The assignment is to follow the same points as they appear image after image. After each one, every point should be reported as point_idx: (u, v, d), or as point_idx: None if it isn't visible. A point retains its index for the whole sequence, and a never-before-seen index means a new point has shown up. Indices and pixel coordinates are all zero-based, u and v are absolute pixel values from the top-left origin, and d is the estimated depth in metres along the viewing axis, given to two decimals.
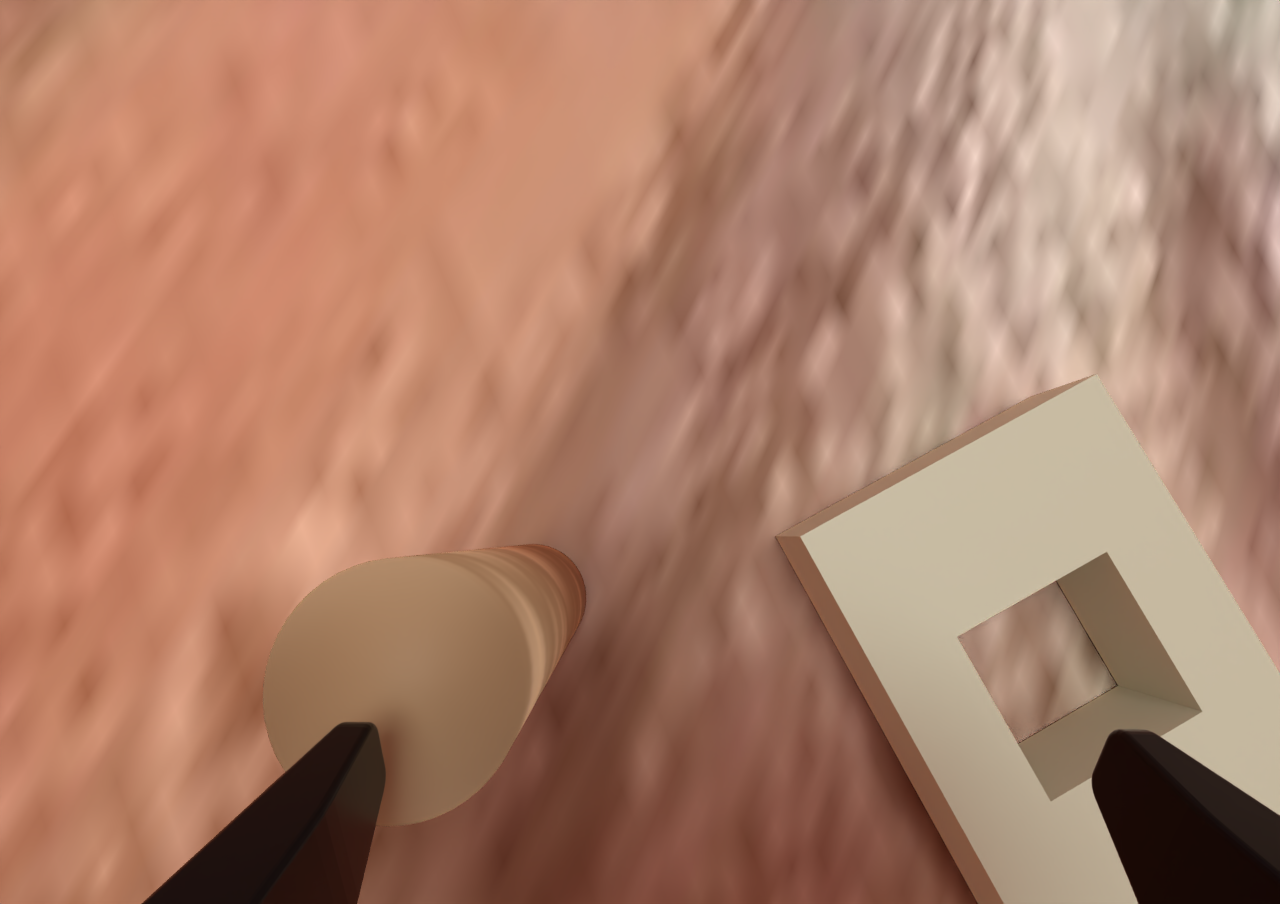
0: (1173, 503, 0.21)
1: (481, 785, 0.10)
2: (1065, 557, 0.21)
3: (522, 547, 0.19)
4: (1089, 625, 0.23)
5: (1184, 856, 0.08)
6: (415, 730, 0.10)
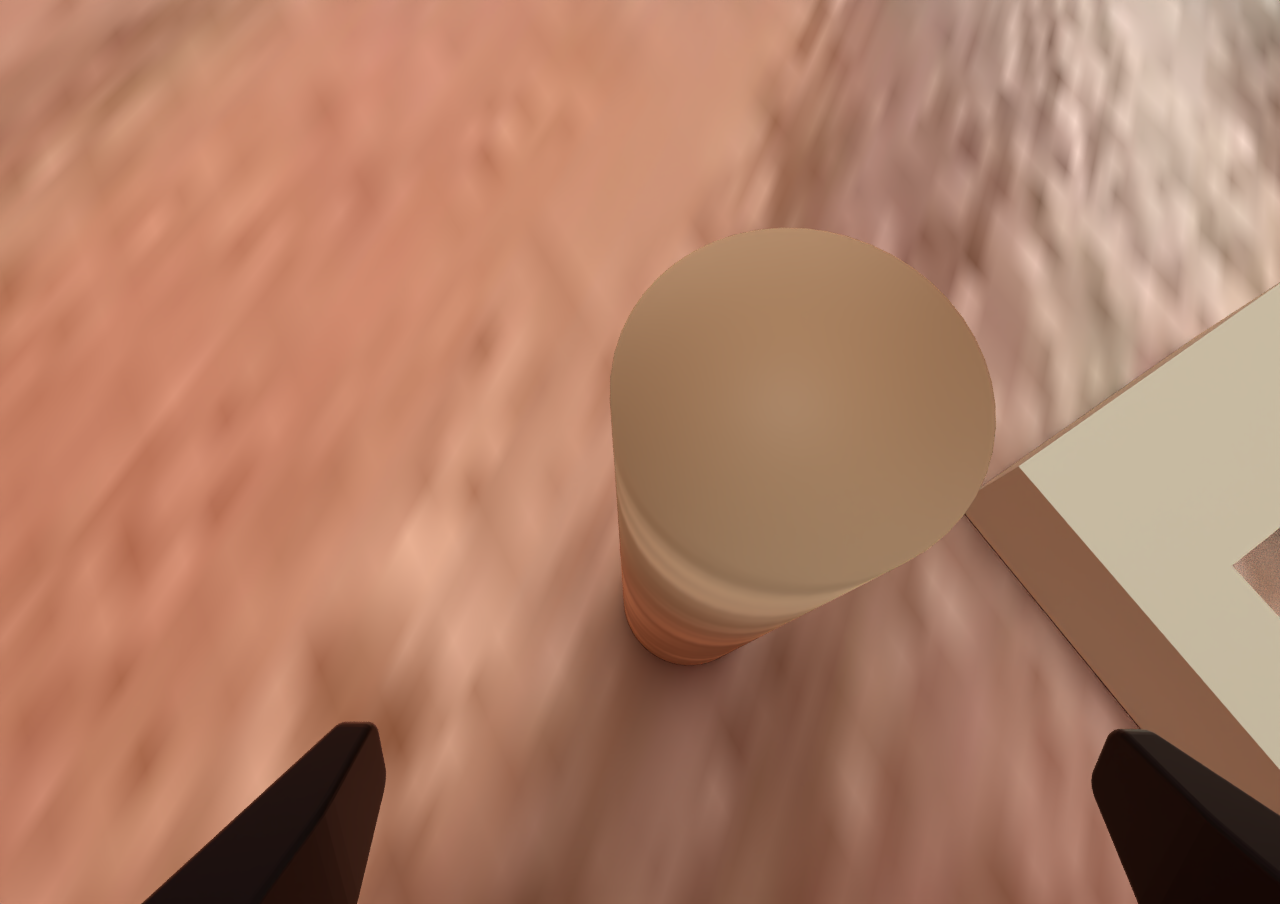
0: None
1: (962, 511, 0.06)
2: None
3: None
4: None
5: (1184, 856, 0.08)
6: (845, 441, 0.06)
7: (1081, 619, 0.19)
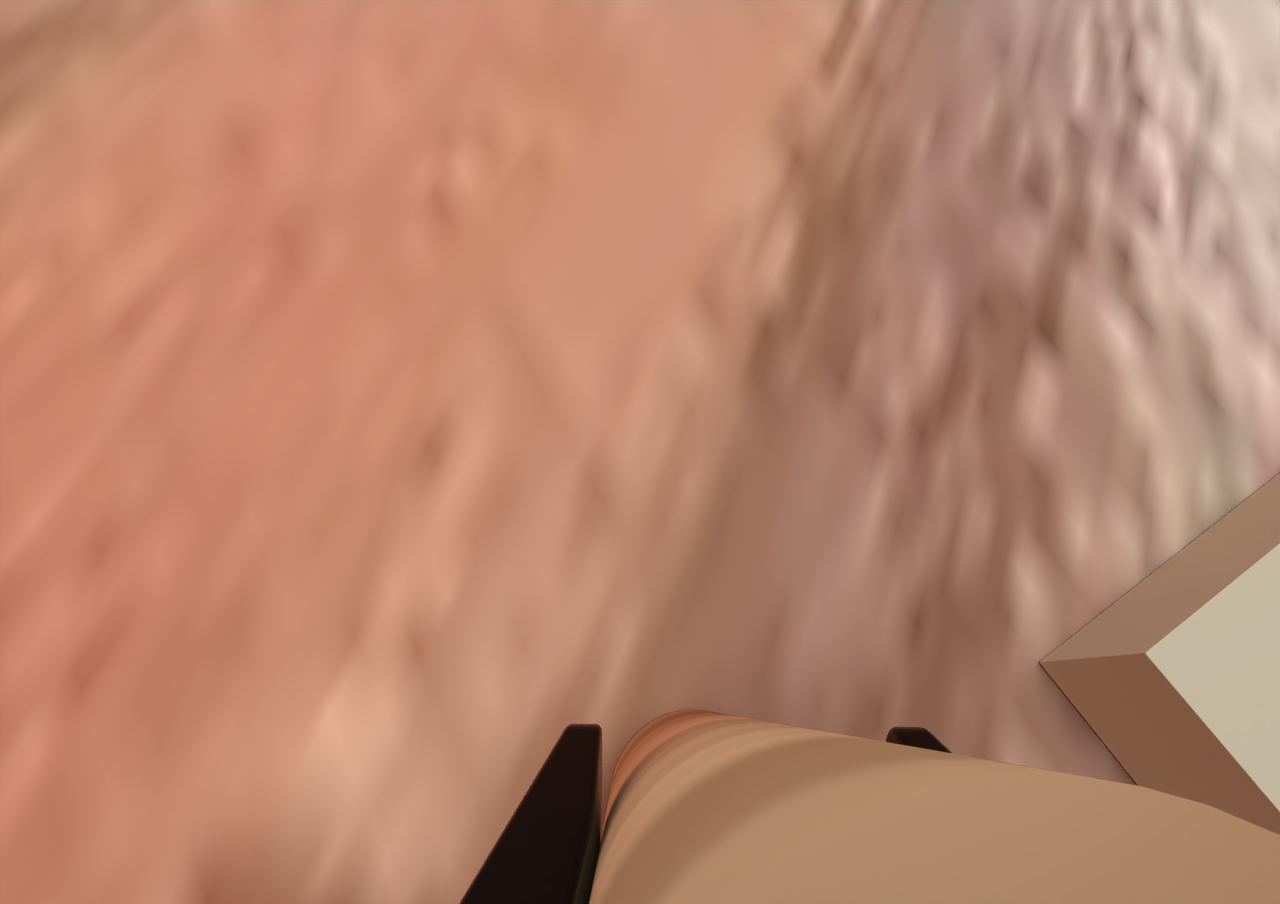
0: None
1: None
2: None
3: (725, 714, 0.11)
4: None
5: None
6: None
7: None
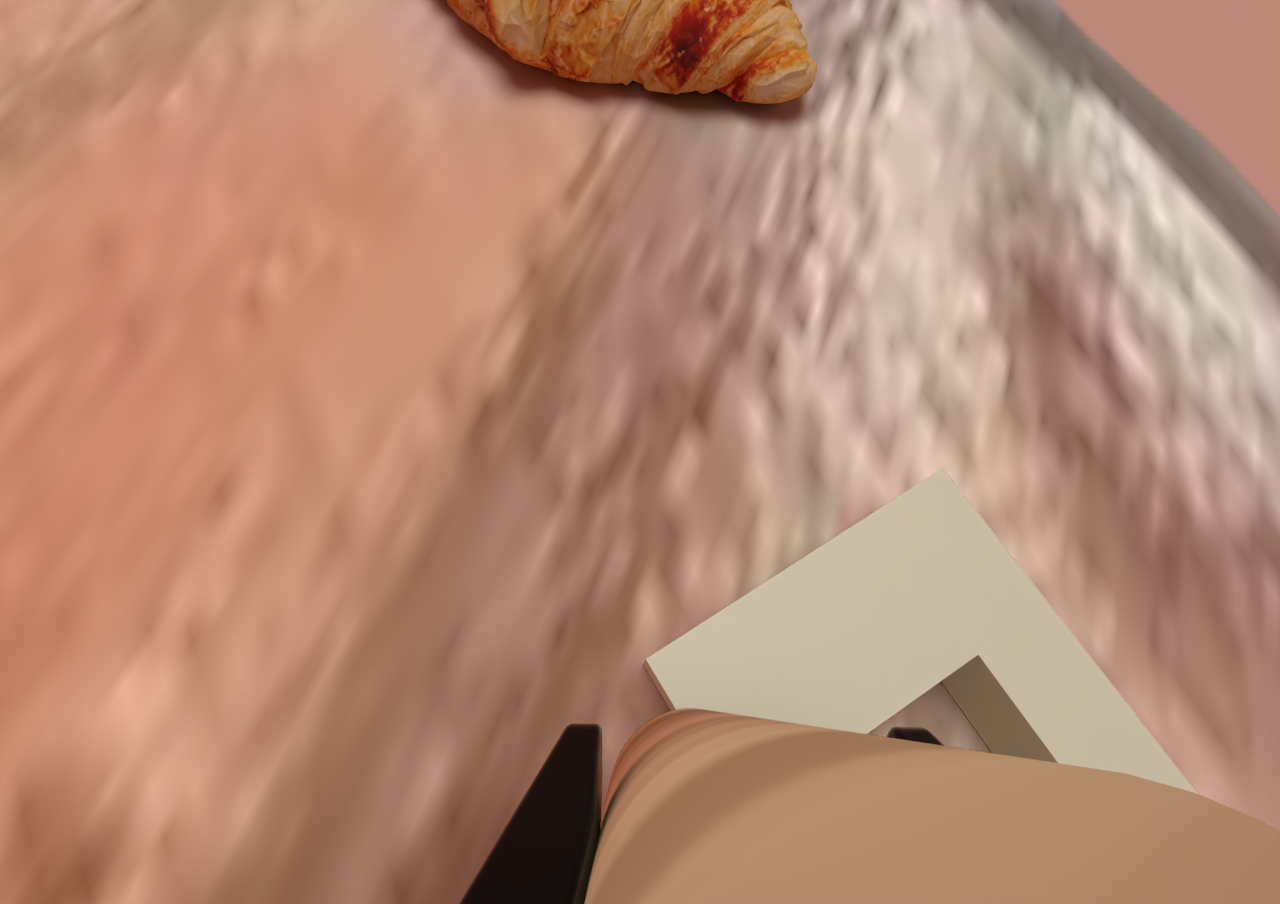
0: (1041, 597, 0.20)
1: None
2: (934, 664, 0.19)
3: (723, 712, 0.11)
4: (991, 742, 0.21)
5: None
6: None
7: None
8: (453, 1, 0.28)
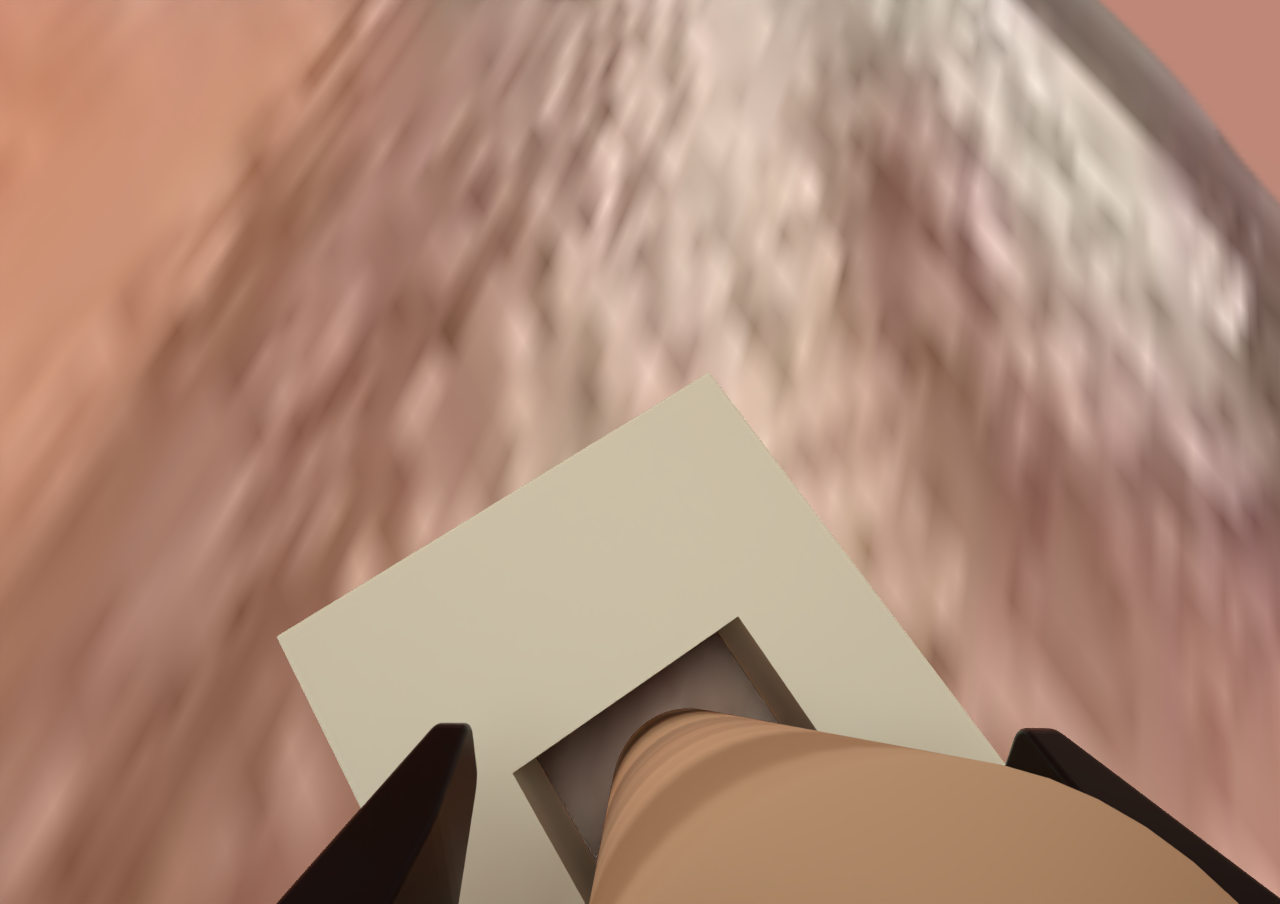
0: (829, 536, 0.14)
1: None
2: (676, 631, 0.14)
3: None
4: None
5: None
6: None
7: None
8: None
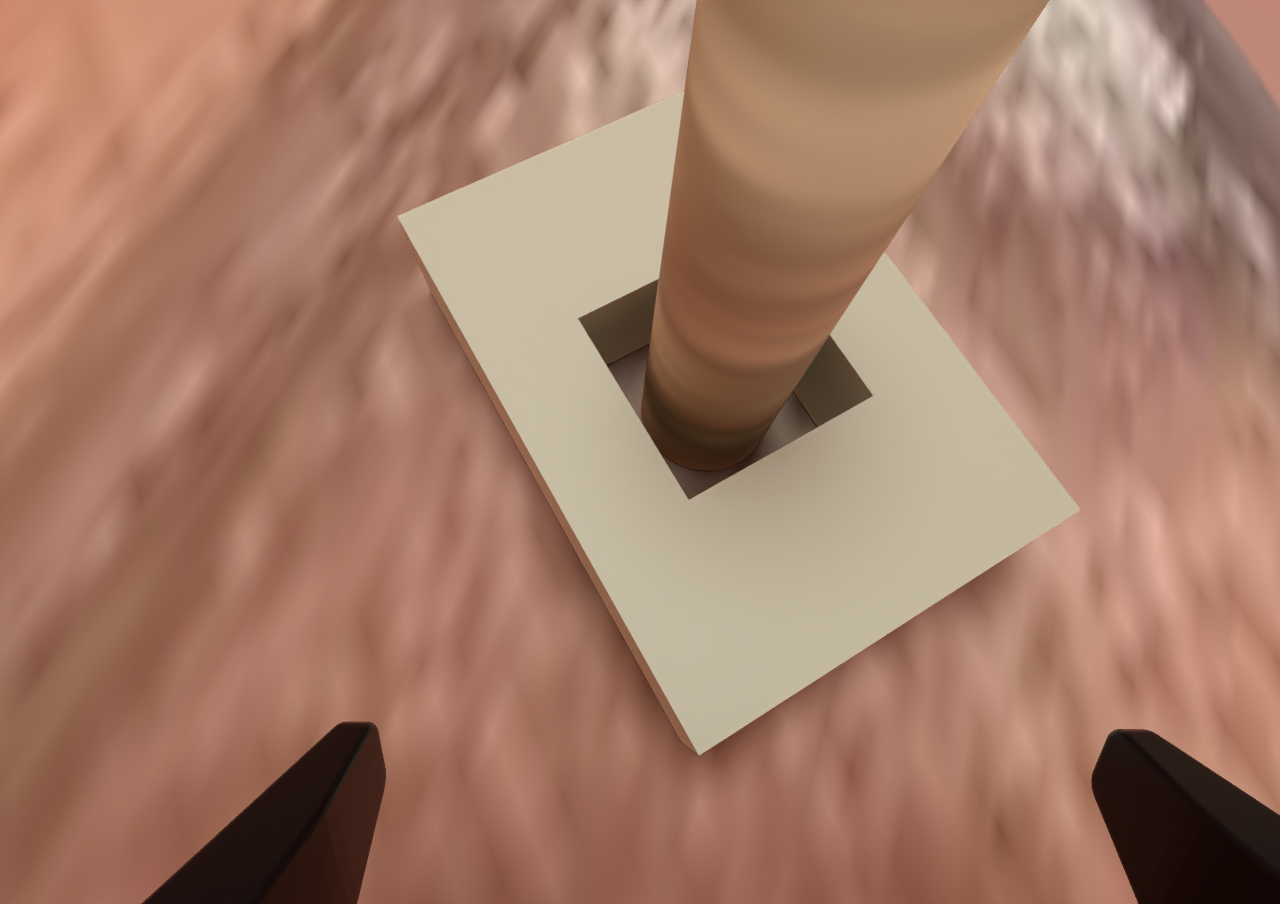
0: None
1: None
2: None
3: None
4: None
5: (1184, 856, 0.08)
6: None
7: (487, 388, 0.19)
8: None
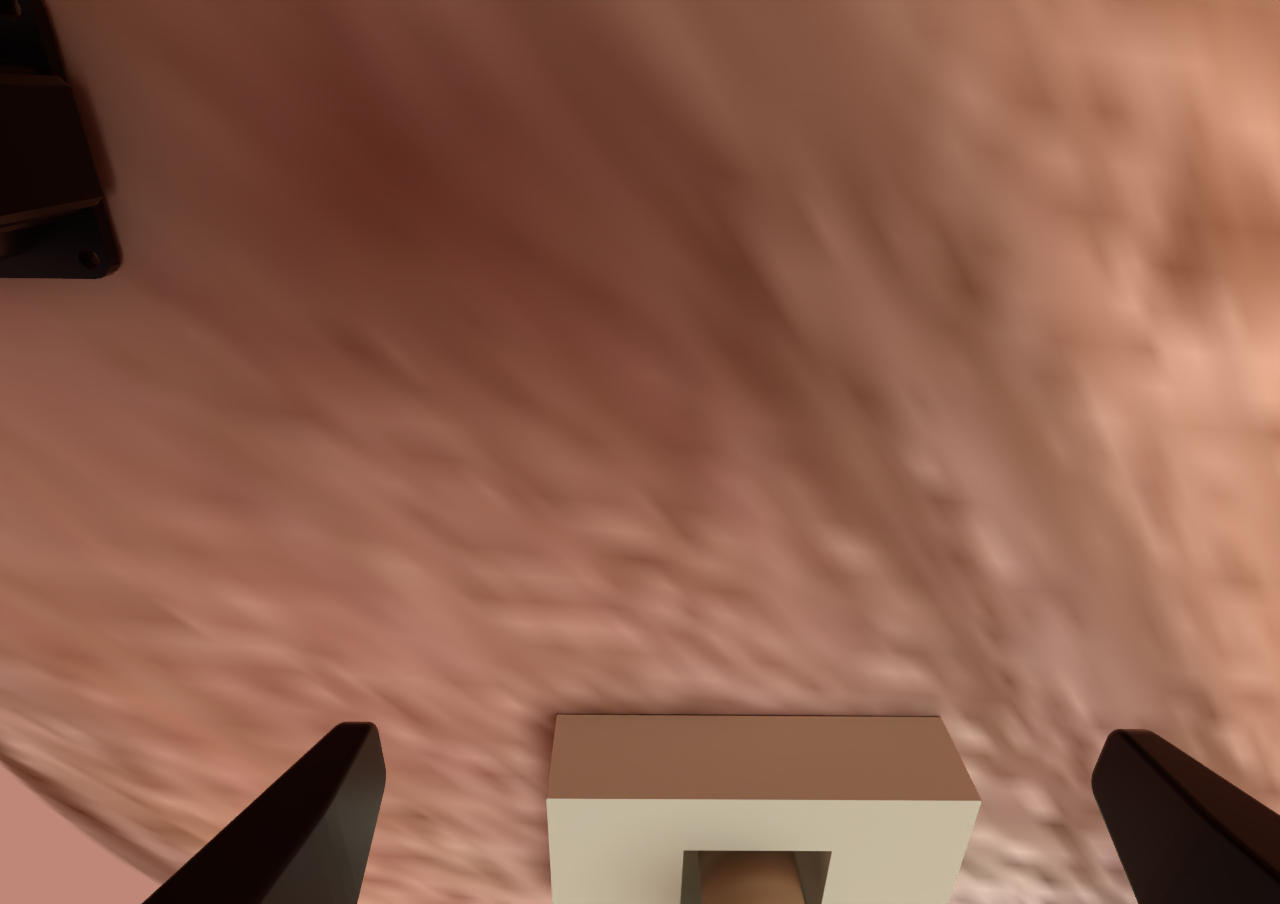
0: None
1: None
2: None
3: None
4: None
5: (1184, 856, 0.08)
6: None
7: (838, 742, 0.25)
8: None
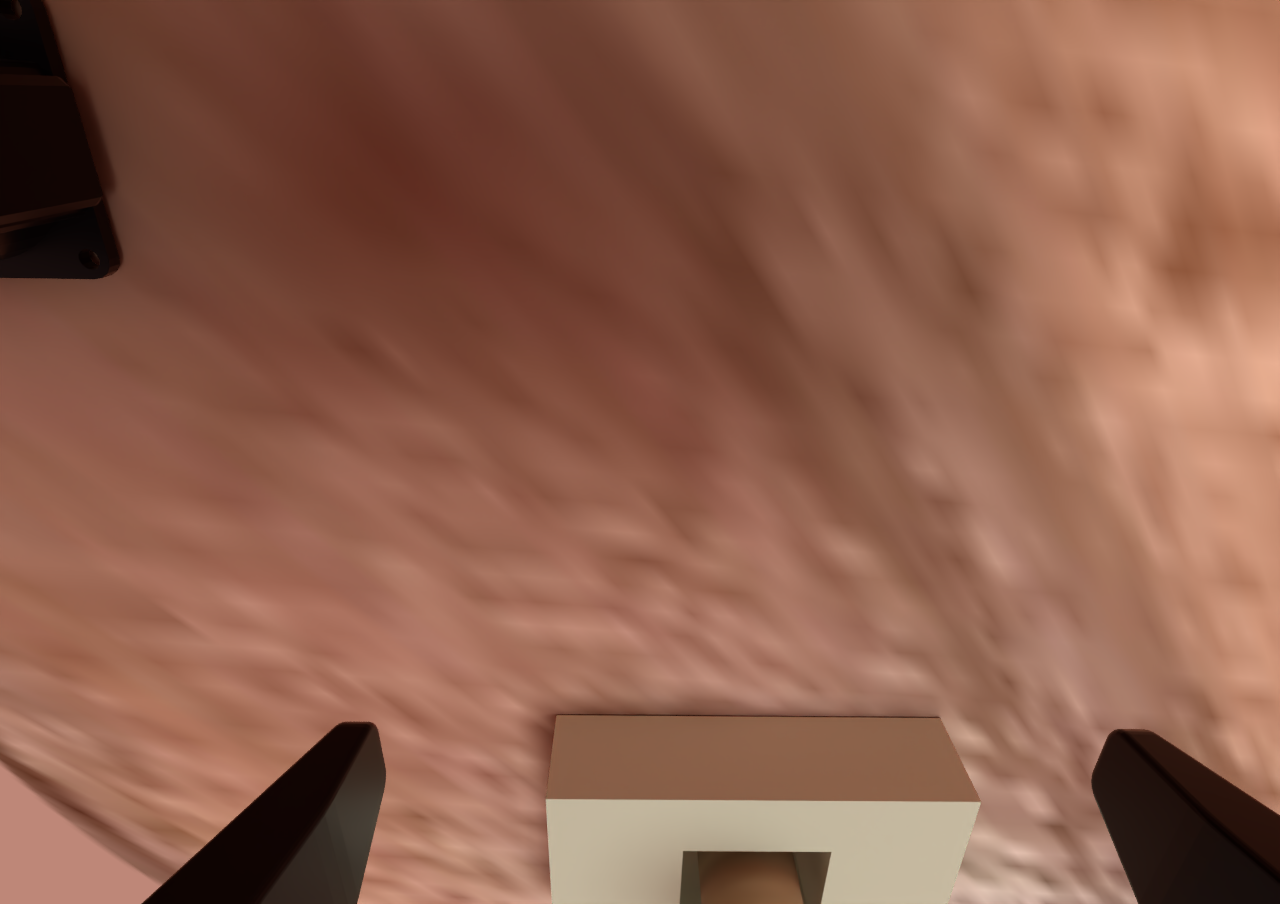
0: None
1: None
2: None
3: None
4: None
5: (1184, 856, 0.08)
6: None
7: (838, 743, 0.25)
8: None
